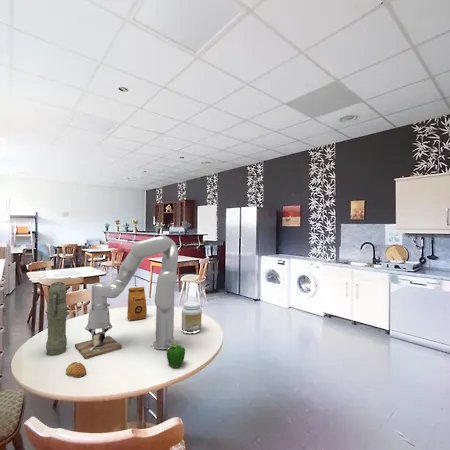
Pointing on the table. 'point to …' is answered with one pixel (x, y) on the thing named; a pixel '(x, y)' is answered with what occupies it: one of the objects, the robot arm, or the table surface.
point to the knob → (97, 340)
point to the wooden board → (106, 348)
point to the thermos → (56, 319)
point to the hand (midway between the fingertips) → (98, 340)
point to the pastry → (76, 369)
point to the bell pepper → (175, 355)
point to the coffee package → (136, 304)
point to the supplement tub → (191, 316)
